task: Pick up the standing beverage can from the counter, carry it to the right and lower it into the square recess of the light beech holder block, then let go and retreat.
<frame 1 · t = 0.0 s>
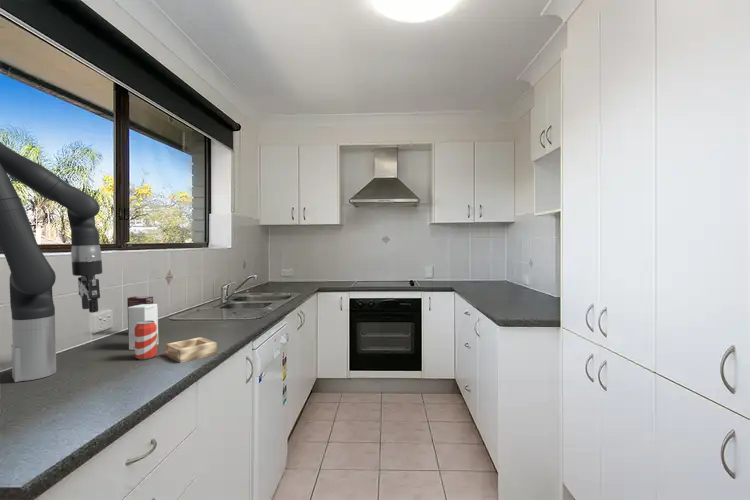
hand: (90, 310, 118), 17 cm above the worktop, tool pointing down, fingers open, 8 cm apart
skincare box: (143, 347, 137), on the worktop
beverage can: (146, 358, 125), on the worktop
supplement box: (141, 334, 156), on the worktop
holder block: (191, 354, 127), on the worktop
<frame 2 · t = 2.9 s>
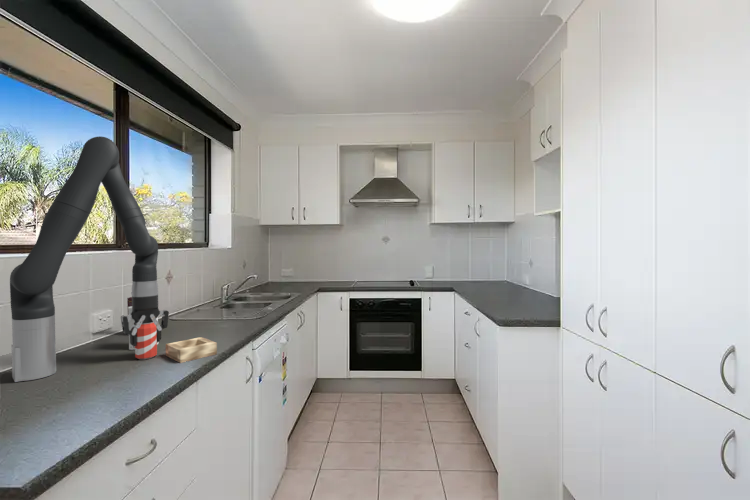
hand: (146, 343, 125), 5 cm above the worktop, tool pointing down, fingers closed on beverage can, 6 cm apart
beverage can: (146, 358, 125), on the worktop, touching gripper
everything else where it was.
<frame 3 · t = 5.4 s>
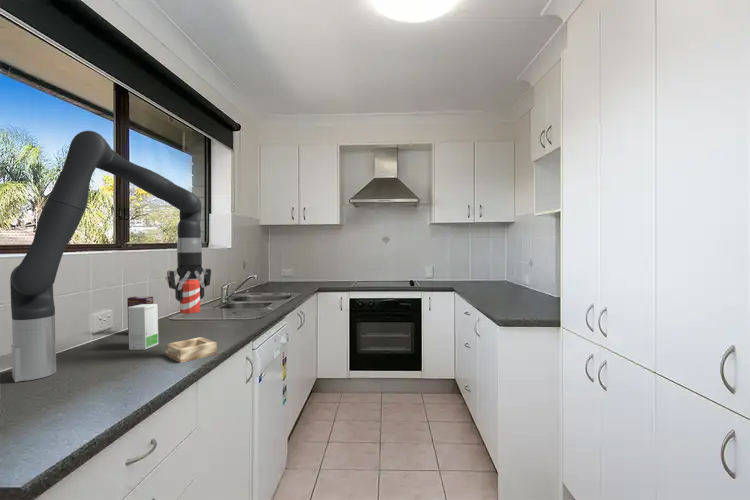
hand: (190, 299, 127), 19 cm above the worktop, tool pointing down, fingers closed on beverage can, 6 cm apart
beverage can: (190, 314, 127), point 14 cm above the worktop, touching gripper
everything else where it was.
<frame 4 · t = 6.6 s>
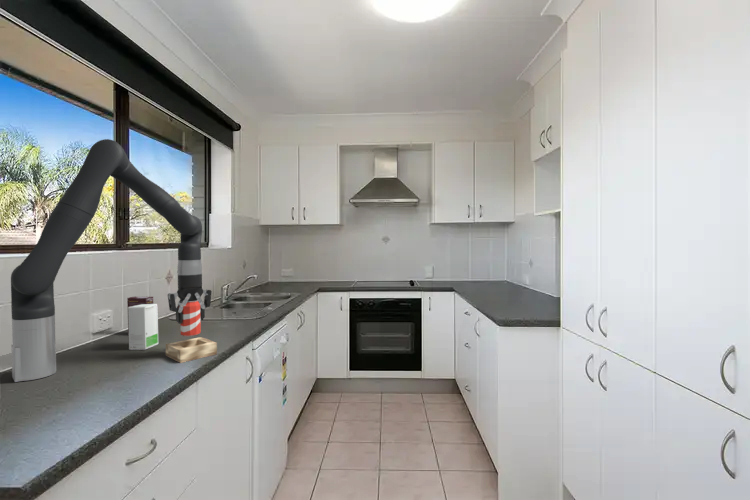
hand: (190, 321, 127), 12 cm above the worktop, tool pointing down, fingers closed on beverage can, 6 cm apart
beverage can: (190, 335, 127), point 7 cm above the worktop, touching gripper
everything else where it was.
when the fingers open (8 cm above the worktop, at t = 7.9 s): beverage can drops 2 cm, resting on holder block.
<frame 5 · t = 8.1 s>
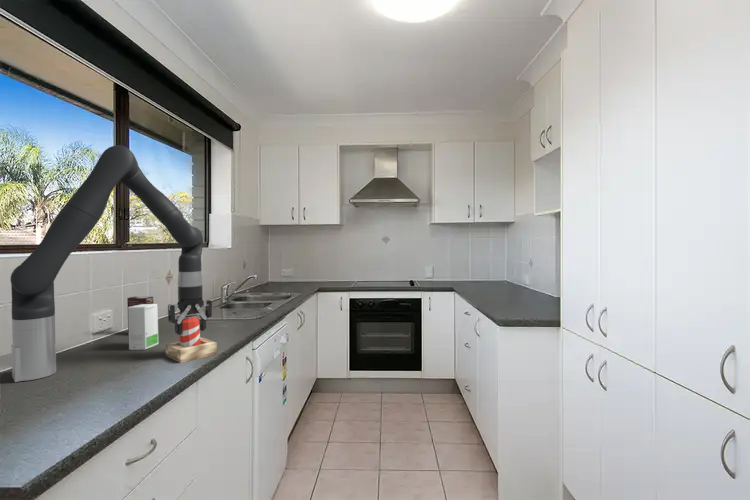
hand: (191, 332, 127), 8 cm above the worktop, tool pointing down, fingers open, 7 cm apart
beverage can: (191, 352, 127), point 1 cm above the worktop, touching holder block
everything else where it was.
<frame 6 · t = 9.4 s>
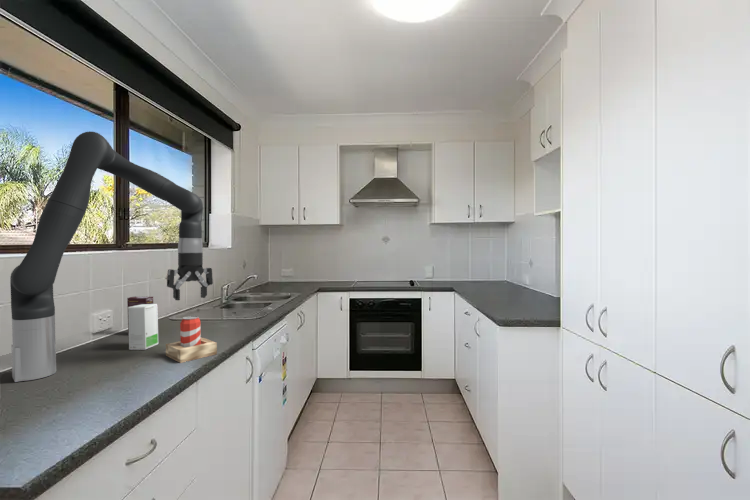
hand: (190, 298, 126), 19 cm above the worktop, tool pointing down, fingers open, 8 cm apart
nothing on the worktop moved.
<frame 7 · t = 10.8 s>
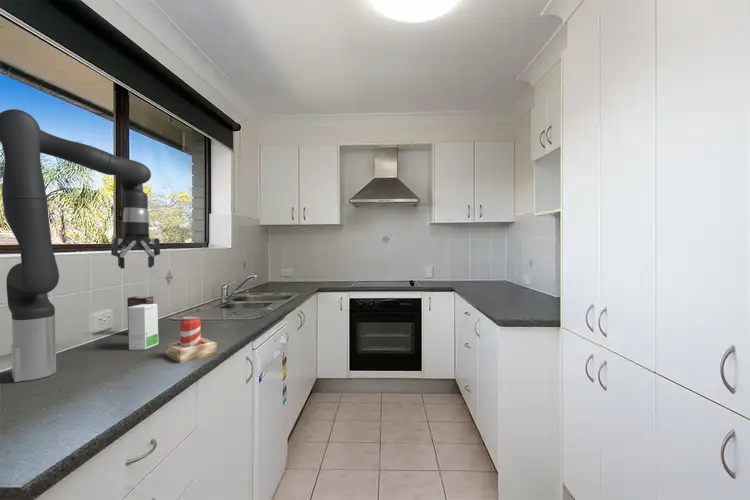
hand: (136, 267, 129), 30 cm above the worktop, tool pointing down, fingers open, 8 cm apart
nothing on the worktop moved.
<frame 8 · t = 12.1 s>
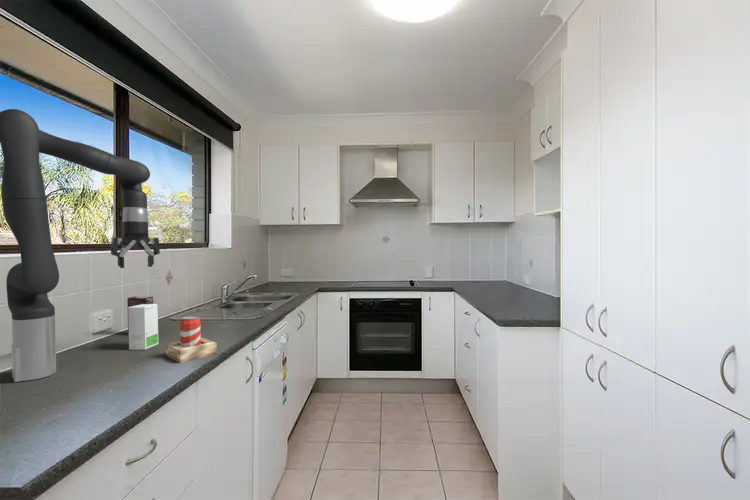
hand: (136, 267, 129), 30 cm above the worktop, tool pointing down, fingers open, 8 cm apart
nothing on the worktop moved.
at the end: beverage can 0.1 cm off-centre on the holder block, point 0.8 cm above the holder block's base; beverage can tilted 0°; the gripper is holding nothing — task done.
